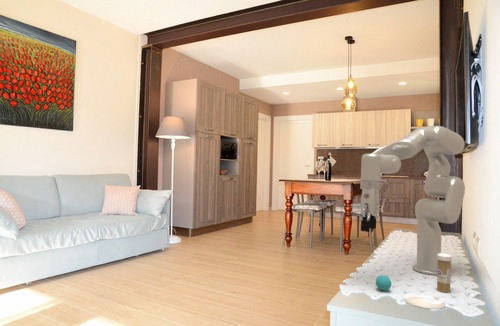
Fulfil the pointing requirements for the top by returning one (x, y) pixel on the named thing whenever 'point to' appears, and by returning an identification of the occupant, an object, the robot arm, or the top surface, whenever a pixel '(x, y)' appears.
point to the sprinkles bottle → (444, 272)
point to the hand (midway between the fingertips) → (368, 229)
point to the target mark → (423, 303)
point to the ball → (383, 282)
